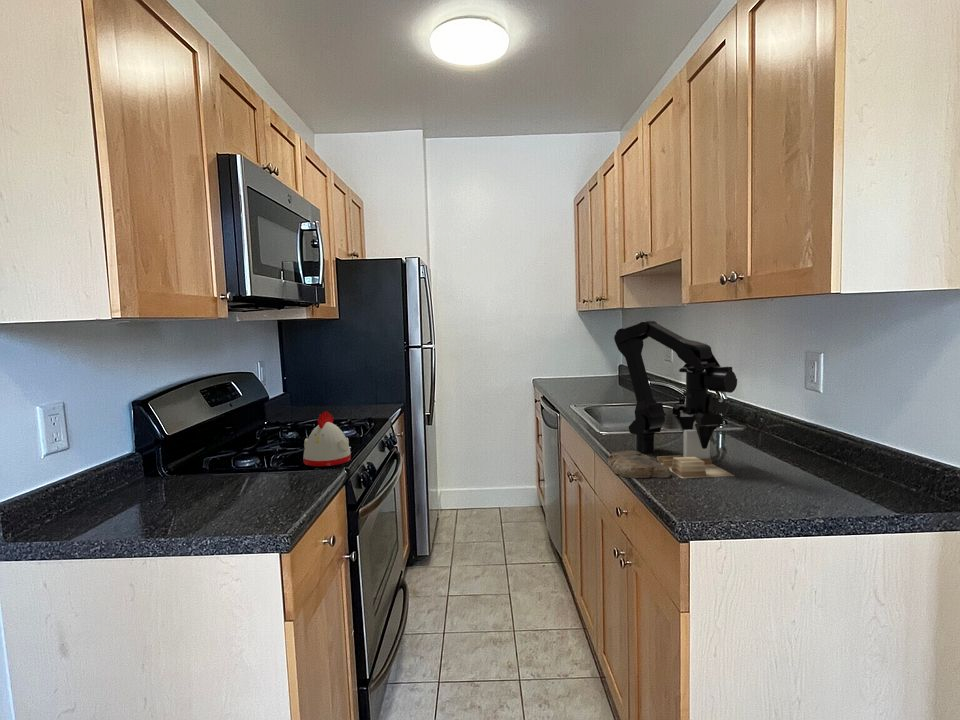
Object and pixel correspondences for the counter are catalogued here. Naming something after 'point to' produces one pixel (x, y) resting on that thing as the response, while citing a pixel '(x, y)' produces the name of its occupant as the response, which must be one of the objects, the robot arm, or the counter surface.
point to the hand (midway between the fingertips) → (696, 444)
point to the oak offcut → (688, 468)
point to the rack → (709, 467)
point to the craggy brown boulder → (636, 465)
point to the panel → (694, 445)
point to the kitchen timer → (326, 444)
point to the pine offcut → (688, 461)
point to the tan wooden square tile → (689, 473)
